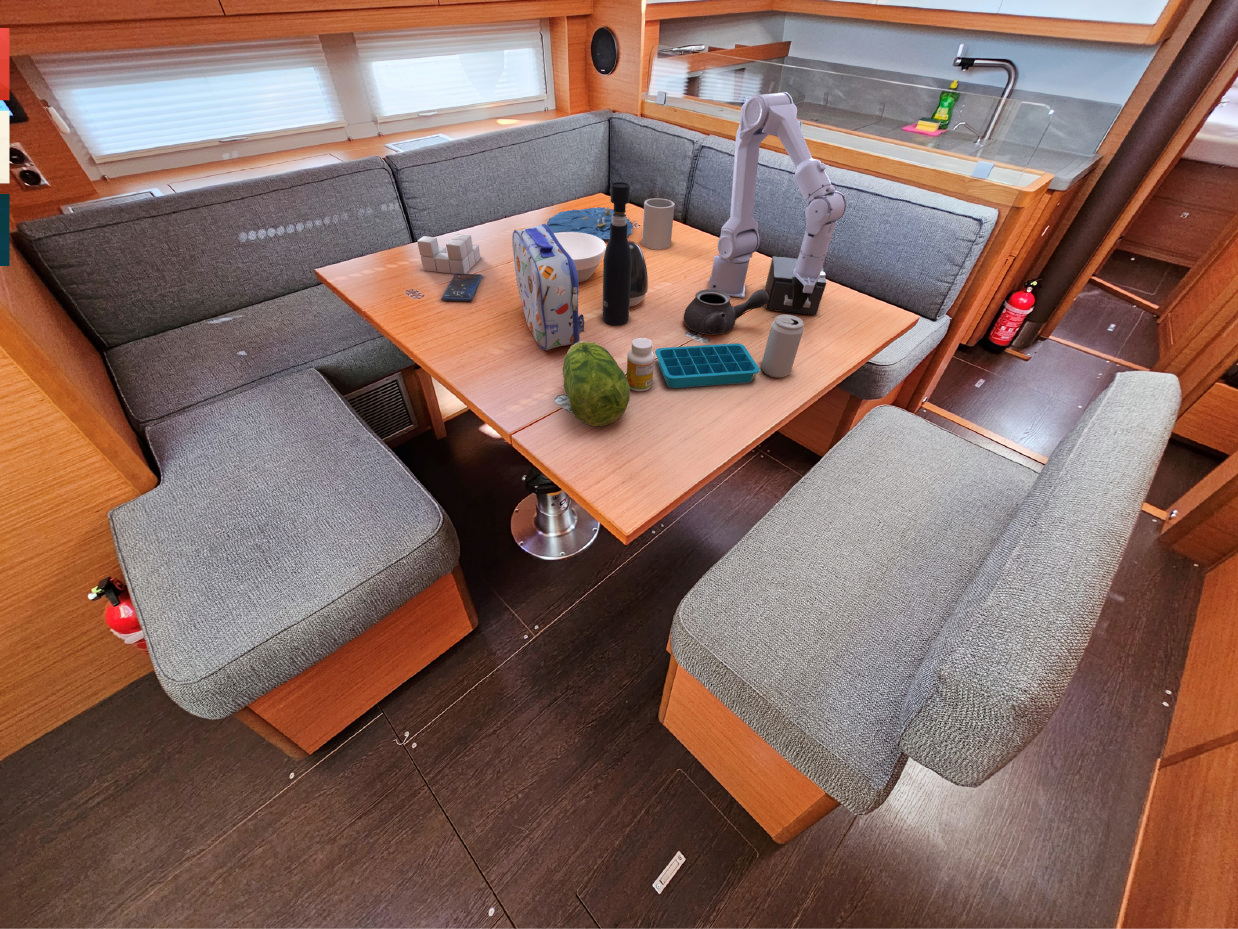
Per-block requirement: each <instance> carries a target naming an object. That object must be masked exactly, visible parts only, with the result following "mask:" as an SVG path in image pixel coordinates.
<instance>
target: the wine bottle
mask: <svg viewBox="0 0 1238 929" xmlns="http://www.w3.org/2000/svg"><path fill="white" fill-rule="evenodd" d="M630 188H631V186H630V183H627V182H624V181H615V182H612V183H611V184H610V203H612V204H613V212H614V214H612V217H611V218H612V220H611V221H612V223H611V224H610V238H609V239H608V241H607V244H606V250H605V252H604V255H603V259H602V260H603V265H602V267H603V269H602V317H601V318H602V321H603V323H605V324H606V325H609V326H614V327H617V326H619V327H620V326H624V325H626V324H627V323H628V322H629V320H630V306H629V304H630V286H631V268H632V258H631V251H630V246H629V243H628V241H629V240H628V236H627V230H628V225H627V220H626V219H628V216H627V214H626V212H627V209H626V208H627V206H626V205H628V204H629V203H630V192H631V190H630Z"/></svg>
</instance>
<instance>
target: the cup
mask: <svg viewBox="0 0 1238 929" xmlns="http://www.w3.org/2000/svg"><path fill="white" fill-rule="evenodd" d="M675 207H676V204H675V202H674V201H672V200H670V199H666V198H658V197H657V198H656V197H655V198H647V199H646V200H644V202H643V218H642V220H643V221H642V234H641V245H642V246H643V247H644V248H647V249H651V250H667V249H668V248H670V247H671V244H672V234H673V225H674V218H675V217H674V215H675Z"/></svg>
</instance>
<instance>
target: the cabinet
mask: <svg viewBox="0 0 1238 929" xmlns="http://www.w3.org/2000/svg"><path fill="white" fill-rule="evenodd" d="M797 260H798V258H794V257H783V256H776V255H774V256H772V257H771V262H770V265H769V269H768V274H767V279H766V282H765V286H764V290H765V291H766V292H767V294H768V295H769V301H768V303H767V304H766V305H765V310H768V311H776V312H784V313H792V314H801V315H810V316H817V315H818V314H817V313H818V310H819V307H820V305H821V303H822V302H821V300H823V296H824V292H825V289H826V286H827V279H826V277H825V278H819V279H818V281H817V285H819V286H823V291H822V294H821V297H820V300H819V303H818V307H817V310H816V313H815V314H811V313H803V312H794V311H786V310H778V309H770V308H769V306H770V302H771V298H772V294H773V290H774V286H775V282H776V281H786V282H792V277H796V276H795V275H794V274H793V271H794V269H795V268H796V264H797ZM821 272H825V271H824V266H822V270H821Z"/></svg>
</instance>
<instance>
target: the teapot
mask: <svg viewBox="0 0 1238 929" xmlns="http://www.w3.org/2000/svg"><path fill="white" fill-rule="evenodd" d="M731 300H732V298H731V296H729V295H728V294H727V293H725V292H723V291H720V290H715V289H709V288H706V289H701V290H699V291H697V292H696V293H695V297H694V298H693V299H692V300H691V301H690V302H689V304H688V305H687V306H686V308H685V310H684V313H683V322H684V325H685V326H686V327H687V328H688V329H690V330H691V331H694V332H696V333H698V334H704V335H708V336H709V335H710V336H712V335H713V336H715V335H722V334H723V335H724V334H727V333H728V332H731V331H732V330H733V329H734V327H735V324H736V321H737V320H738V319H739V318H740V317H742V316H743V315H744V314H745V313H746V312H747V311H750V310H756V309H761V308H762V307H764V306H766V304H767V303H768V301H769V295H768V294H767V292H766V291H765V289H757V290H755V291H754V292H753V293H752V294H751V295H750V296H749V297H748V299H747V300H746V301H744V302H743V303H741V304H736V305H734V306H733V305H732V304H731Z"/></svg>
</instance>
